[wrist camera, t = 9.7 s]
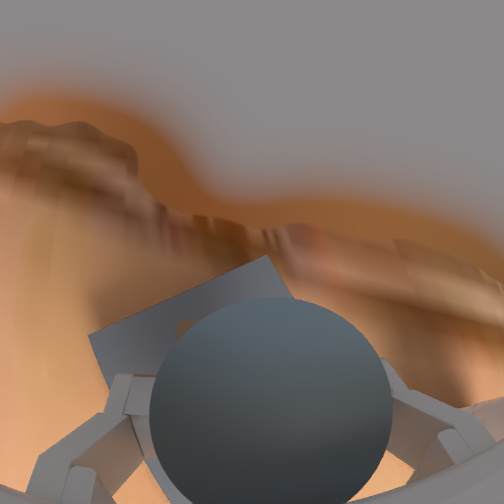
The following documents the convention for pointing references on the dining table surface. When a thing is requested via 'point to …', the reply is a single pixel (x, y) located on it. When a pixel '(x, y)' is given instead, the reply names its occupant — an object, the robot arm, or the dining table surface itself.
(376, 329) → the dining table surface
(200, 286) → the dock
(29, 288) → the dining table surface
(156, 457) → the robot arm
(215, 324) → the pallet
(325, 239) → the dining table surface
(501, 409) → the white cup
